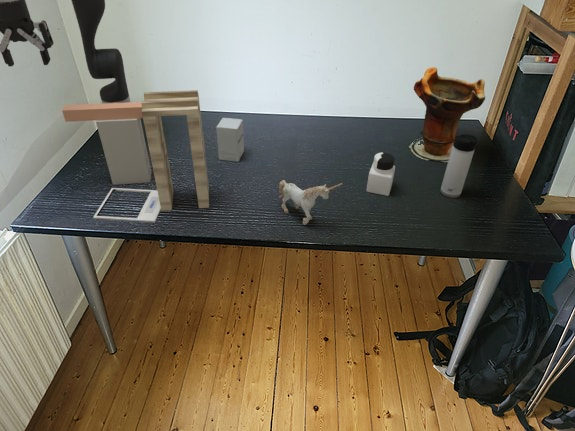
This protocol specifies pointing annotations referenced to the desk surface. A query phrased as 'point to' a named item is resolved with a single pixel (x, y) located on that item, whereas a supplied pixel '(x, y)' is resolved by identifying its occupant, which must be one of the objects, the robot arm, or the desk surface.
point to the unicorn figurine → (302, 197)
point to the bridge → (152, 112)
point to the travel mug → (458, 165)
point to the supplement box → (230, 139)
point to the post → (125, 150)
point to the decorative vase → (443, 112)
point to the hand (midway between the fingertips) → (29, 64)
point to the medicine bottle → (381, 174)
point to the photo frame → (148, 210)
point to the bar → (102, 111)
